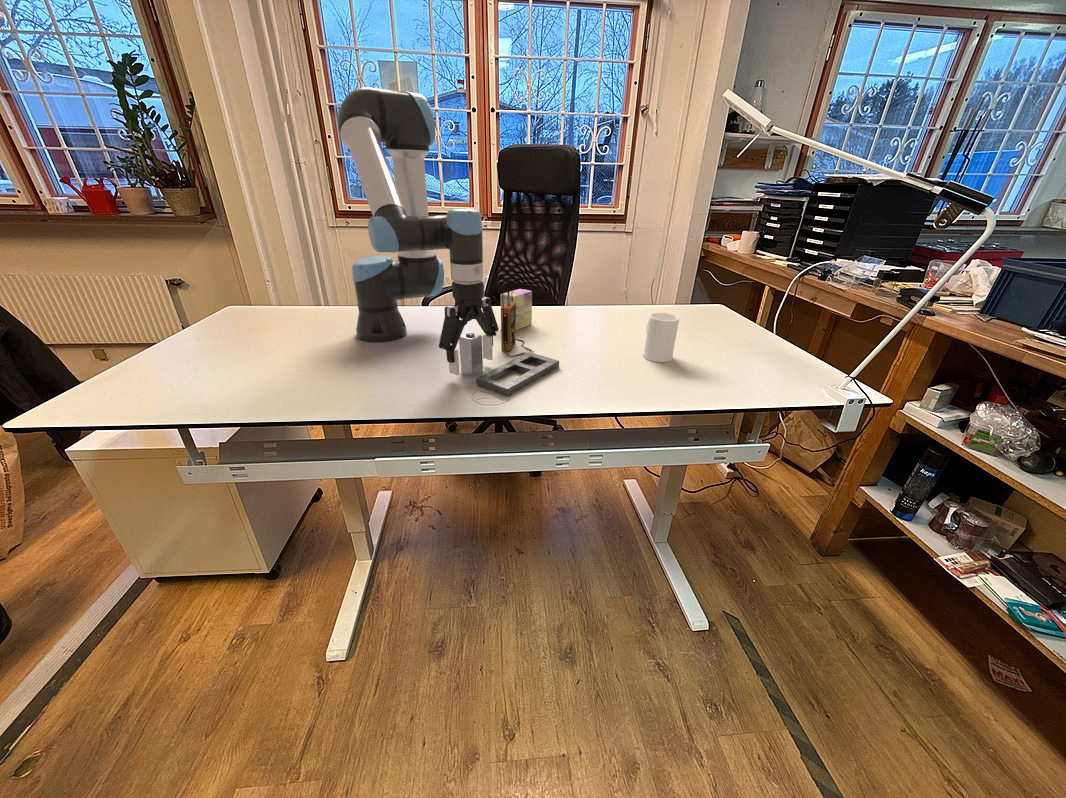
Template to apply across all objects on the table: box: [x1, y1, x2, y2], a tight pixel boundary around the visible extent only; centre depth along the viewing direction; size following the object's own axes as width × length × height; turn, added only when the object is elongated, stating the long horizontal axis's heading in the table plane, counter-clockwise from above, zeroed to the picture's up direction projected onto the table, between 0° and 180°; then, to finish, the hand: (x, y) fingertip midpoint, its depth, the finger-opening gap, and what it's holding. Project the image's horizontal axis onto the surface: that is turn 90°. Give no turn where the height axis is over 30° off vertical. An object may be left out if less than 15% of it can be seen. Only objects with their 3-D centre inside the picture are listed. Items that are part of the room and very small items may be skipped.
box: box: [500, 288, 533, 331], centre depth 142 cm, size 10×6×12 cm, turn 144°
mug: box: [642, 312, 680, 363], centre depth 121 cm, size 12×8×12 cm
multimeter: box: [500, 278, 535, 358], centre depth 122 cm, size 15×10×20 cm
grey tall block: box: [458, 332, 484, 378], centre depth 108 cm, size 4×4×10 cm
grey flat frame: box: [475, 351, 560, 397], centre depth 108 cm, size 10×22×2 cm, turn 144°
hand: (471, 365), depth 109 cm, fingers open, 12 cm apart
